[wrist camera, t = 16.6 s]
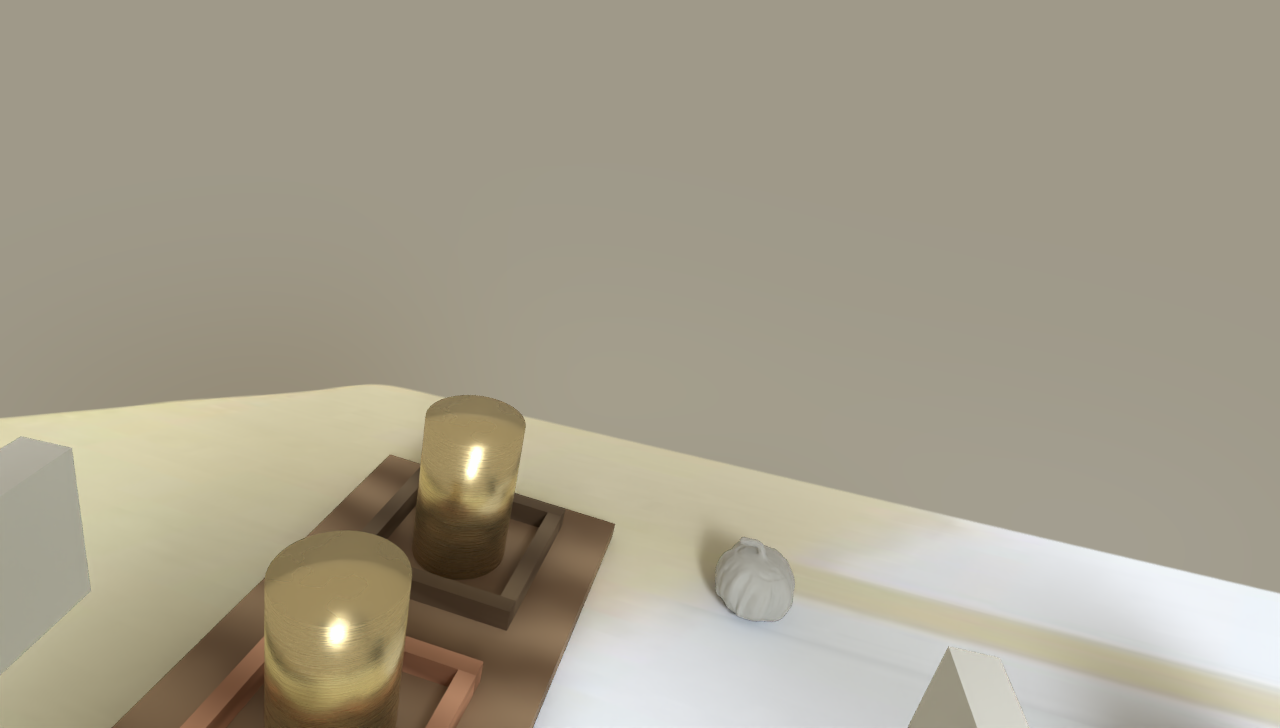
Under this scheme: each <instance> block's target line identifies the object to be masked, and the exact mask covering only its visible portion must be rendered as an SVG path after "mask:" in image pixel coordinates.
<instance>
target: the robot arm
mask: <svg viewBox="0 0 1280 728" xmlns="http://www.w3.org/2000/svg"><path fill="white" fill-rule="evenodd" d="M90 591H91V588H90V580H89V573H88V565H87V558H86V550H85V543H84V535H83V528H82V520H81V513H80V505H79V498H78V490H77V483H76V475H75V468H74V460H73V453H72V448H70V447H66V446H62V445H57V444H53V443H48V442H44V441H39V440H35V439H31V438H26V437H22V436H21V437H19V438H17V439H16V440H14V441H12V442H11V443H9V444H7V445H6V446H4V447H3V448H1V449H0V675H1V674H2V673H3V672H4V671H5V670H6V669H7V668H8V667H9V666H11V665H12V664H13V663H14V662H15V661H16V660H17V659H18V658H19V657H20V656H21V655H22V654H23V653H25V652H26V651H27V650H28V649H29V648H30V647H31V646H32V645H33V644H34V643H35V642H36V641H38V640H39V639H40V638H41V637H42V636H43V635H44V634H45V633H46V632H47V631H48V630H49V629H50V628H52V627H53V626H54V625H55V624H56V623H57V622H58V621H59V620H60V619H61V618H62V617H63V616H64V615H66V614H67V613H68V612H69V611H70V610H71V609H72V608H73V607H74V606H75V605H76V604H77V603H79V602H80V601H81V600H82V599H83V598H84V597H85V596H86V595H87V594H88V593H89V592H90ZM908 728H1029V725H1028V723H1027V721H1026V718H1025V716H1024V714H1023V711H1022V709H1021V706H1020V704H1019V702H1018V699H1017V697H1016V695H1015V692H1014V690H1013V688H1012V685H1011V683H1010V681H1009V678H1008V676H1007V673H1006V671H1005V669H1004V666H1003V664H1002V662H1001V659H1000V658H998V657H994V656H989V655H985V654H981V653H976V652H972V651H967V650H963V649H959V648H954V647H950V646H948V648H947V650H946V652H945V654H944V656H943V658H942V660H941V662H940V664H939V666H938V668H937V670H936V672H935V674H934V676H933V678H932V680H931V682H930V684H929V686H928V688H927V690H926V692H925V694H924V696H923V698H922V700H921V702H920V704H919V706H918V708H917V710H916V712H915V714H914V716H913V718H912V720H911V722H910V724H909V726H908Z"/></svg>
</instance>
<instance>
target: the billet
mask: <svg viewBox="0 0 1280 728" xmlns="http://www.w3.org/2000/svg"><path fill="white" fill-rule="evenodd" d="M525 427H526V425H525V420H524V418H523V416H522V415H521V414H520V413H519V412H518V411H517V410H516V409H515V408H514V407H512V406H510V405H508V404H506V403H504V402H502V401H499V400H496V399H493V398H489V397H484V396H476V395H461V396H453V397H448V398H445V399H442V400H440V401H437V402H436V403H434V404H433V405H432V406H430V408H429V409H428V410H427V412H426V417H425V427H424V436H423V446H422V456H421V465H420V475H419V485H418V495H417V504H416V514H415V524H414V533H413V543H412V552H413V556H414V558H415V560H416V561H417V563H418V564H419V565H420V566H421V567H422V568H423V569H425V570H426V571H428V572H429V573H432V574H435V575H438V576H441V577H444V578H447V579H453V580H467V579H473V578H478V577H481V576H484V575H486V574H488V573H490V572H491V571H493V570H494V569H495V568H497V567H498V565H499V564H500V563H501V561H502V559H503V557H504V552H505V546H506V540H507V534H508V528H509V522H510V516H511V510H512V504H513V498H514V492H515V486H516V480H517V474H518V468H519V463H520V457H521V451H522V445H523V439H524V433H525Z"/></svg>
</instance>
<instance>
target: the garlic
mask: <svg viewBox="0 0 1280 728" xmlns="http://www.w3.org/2000/svg"><path fill="white" fill-rule="evenodd" d="M715 573H716V577H715V583H716V593H717V595H719V596H720V597H721V598H722V599H723V601H724V602H725V604H726V606H727V607H728V608H729V609H730V610H731V611H733V612H734V613H736V615H737V616H739V617H741V618H744V619H748V620H751V621H767V622H775V621H778V620H780V619H782V618H783V617H784V616H785V614H786V613H787V612H788V611H789V609H790V607H791V605H792V602H793V591H794V587H795V581H794V576H793V573H792V570H791V568H790V565H789V563H788V561H787V560H786V559H785V558H784V557H783V555H782V554H781V553H779V552H778V551H777V550H776V549H773V548H770V547H768V546H765V545H763V544H762V543H761V542H760V541H758V540H755V539H750V538H746V537H742V538H741V539H740V541H739V542H737V543H736V544H735V545H734V547H733V548H732V549H731V550H728V551H726V552H725V553H723V555H722V556H721V557H720V559H719V561H718V563H717V566H716V572H715Z"/></svg>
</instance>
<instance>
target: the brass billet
mask: <svg viewBox="0 0 1280 728" xmlns="http://www.w3.org/2000/svg"><path fill="white" fill-rule="evenodd" d="M411 581H412V568H411V564H410V562H409V559H408V558H407V556H406V555H405V553H404V552H403V551H402V550H401V549H400V548H399V547H398V546H396V545H395V544H394V543H392V542H391V541H389V540H387V539H385V538H383V537H380V536H377V535H374V534H371V533H366V532H360V531H349V530H346V531H330V532H324V533H319V534H316V535H312V536H309V537H306V538H304V539H301V540H299V541H297V542H295V543H293V544H292V545H290V546H288V547H287V548H285V549H284V550H283V551H282V552H280V553H279V554H278V555H277V556H276V557H275V559H274V560H273V561H272V562H271V564H270V566H269V567H268V570H267V572H266V575H265V595H264V728H396V724H397V714H398V705H399V695H400V686H401V676H402V667H403V657H404V647H405V638H406V628H407V619H408V609H409V600H410V590H411Z"/></svg>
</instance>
